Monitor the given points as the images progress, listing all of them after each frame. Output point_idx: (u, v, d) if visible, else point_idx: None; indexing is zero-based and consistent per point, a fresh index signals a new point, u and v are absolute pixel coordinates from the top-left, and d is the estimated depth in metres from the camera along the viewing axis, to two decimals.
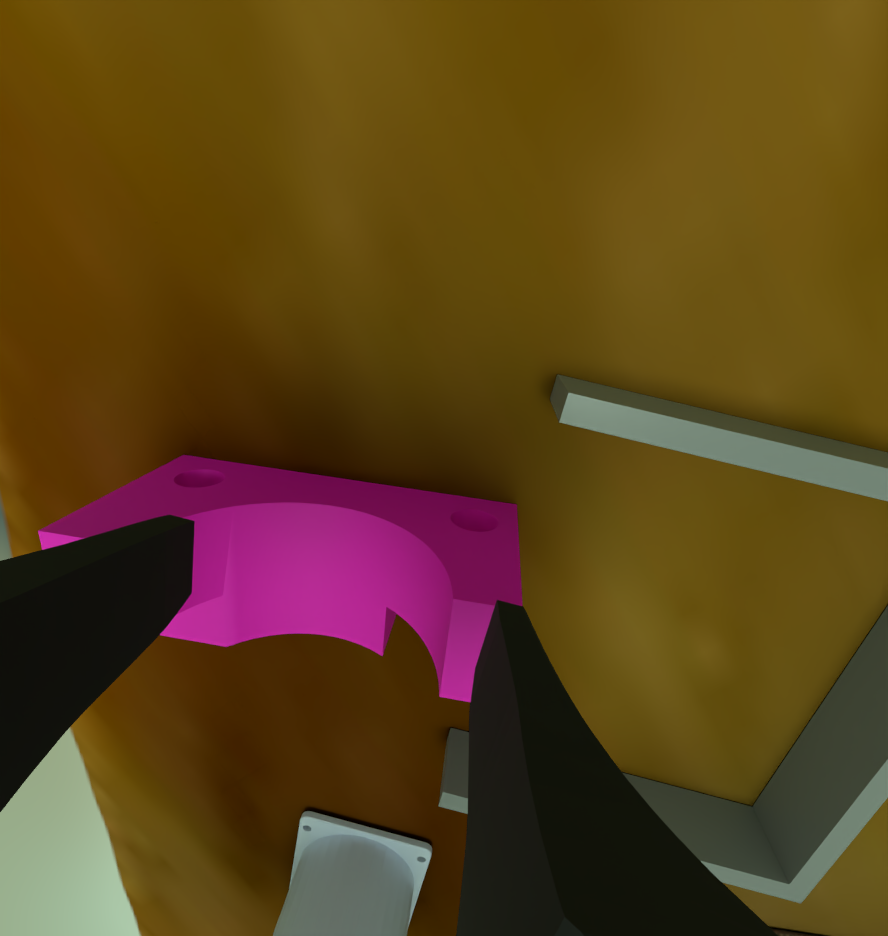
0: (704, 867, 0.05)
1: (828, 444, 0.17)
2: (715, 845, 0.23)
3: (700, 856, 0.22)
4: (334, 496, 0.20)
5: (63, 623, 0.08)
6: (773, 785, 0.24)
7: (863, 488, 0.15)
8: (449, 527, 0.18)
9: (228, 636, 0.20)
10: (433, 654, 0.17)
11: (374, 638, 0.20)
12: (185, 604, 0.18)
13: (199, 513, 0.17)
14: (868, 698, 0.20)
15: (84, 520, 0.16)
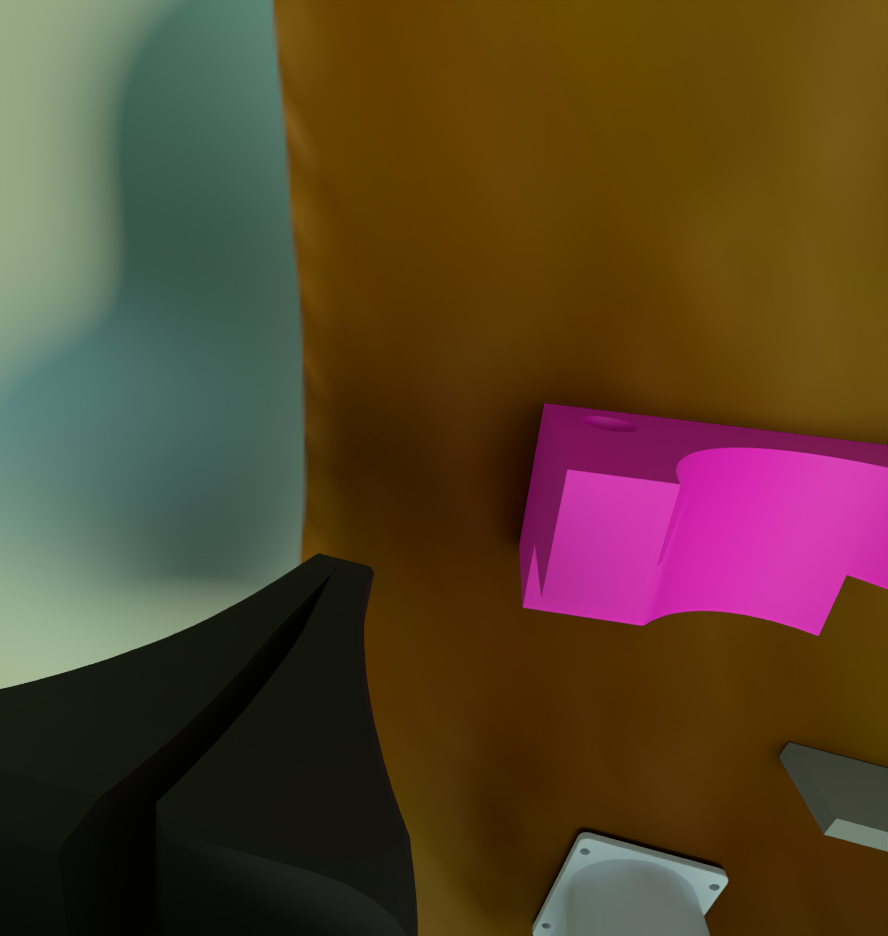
0: (388, 781, 0.05)
1: None
2: None
3: None
4: (776, 443, 0.16)
5: (267, 678, 0.08)
6: None
7: None
8: None
9: (647, 613, 0.16)
10: None
11: (809, 615, 0.17)
12: None
13: (686, 456, 0.14)
14: None
15: (590, 460, 0.13)
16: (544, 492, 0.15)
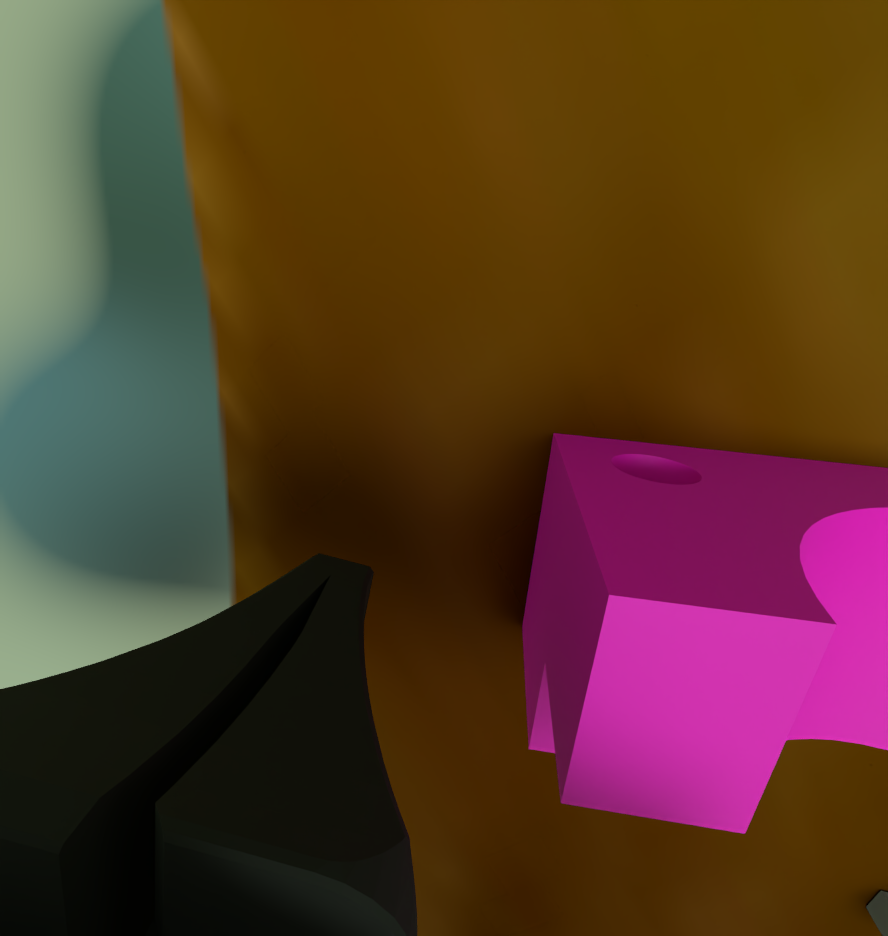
0: (388, 781, 0.05)
1: None
2: None
3: None
4: None
5: (268, 678, 0.08)
6: None
7: None
8: None
9: None
10: None
11: None
12: None
13: (803, 535, 0.08)
14: None
15: (646, 561, 0.07)
16: (559, 586, 0.09)
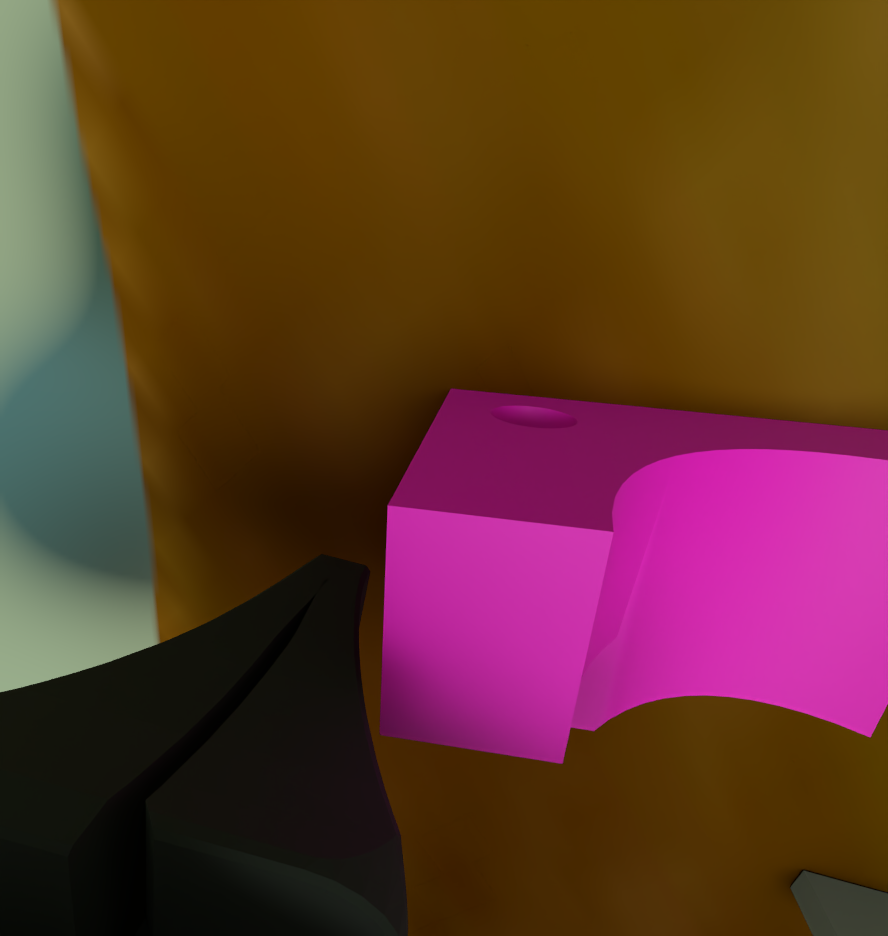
0: (381, 779, 0.05)
1: None
2: None
3: None
4: (798, 440, 0.10)
5: None
6: None
7: None
8: None
9: (600, 711, 0.10)
10: None
11: (855, 705, 0.11)
12: (586, 661, 0.09)
13: (643, 467, 0.08)
14: None
15: (453, 482, 0.07)
16: None
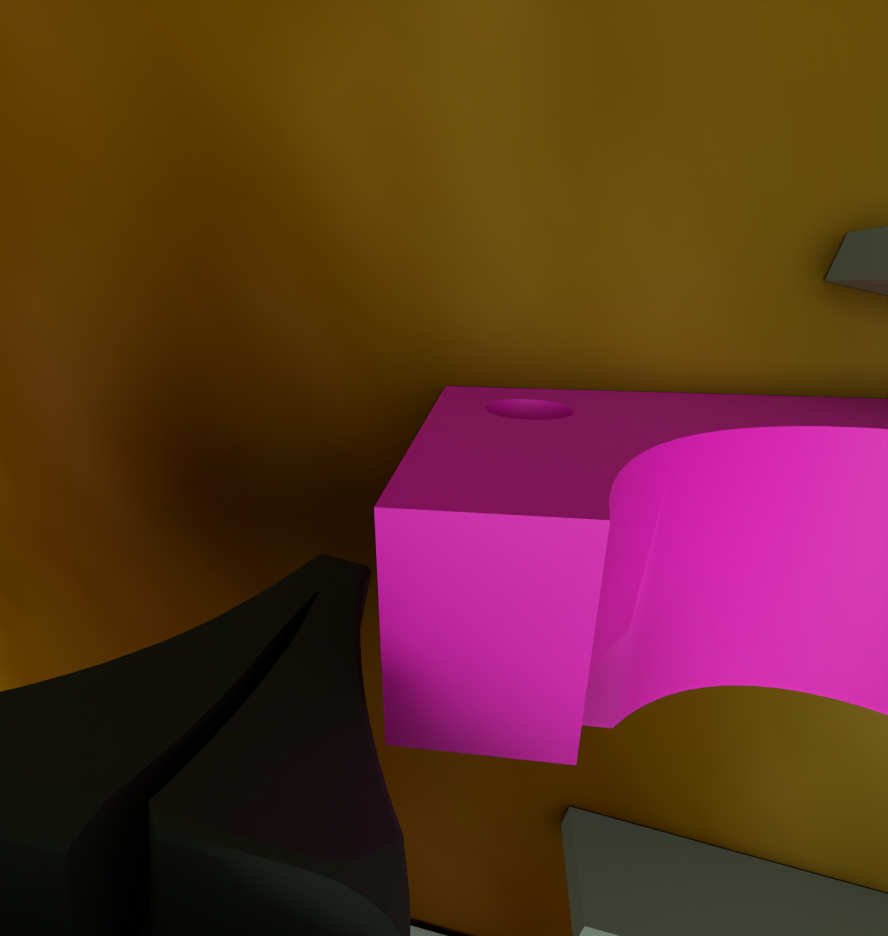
0: (383, 780, 0.05)
1: None
2: None
3: None
4: (804, 415, 0.10)
5: None
6: None
7: None
8: None
9: (617, 708, 0.10)
10: None
11: (884, 687, 0.10)
12: (597, 657, 0.08)
13: (643, 452, 0.08)
14: None
15: (443, 480, 0.06)
16: None
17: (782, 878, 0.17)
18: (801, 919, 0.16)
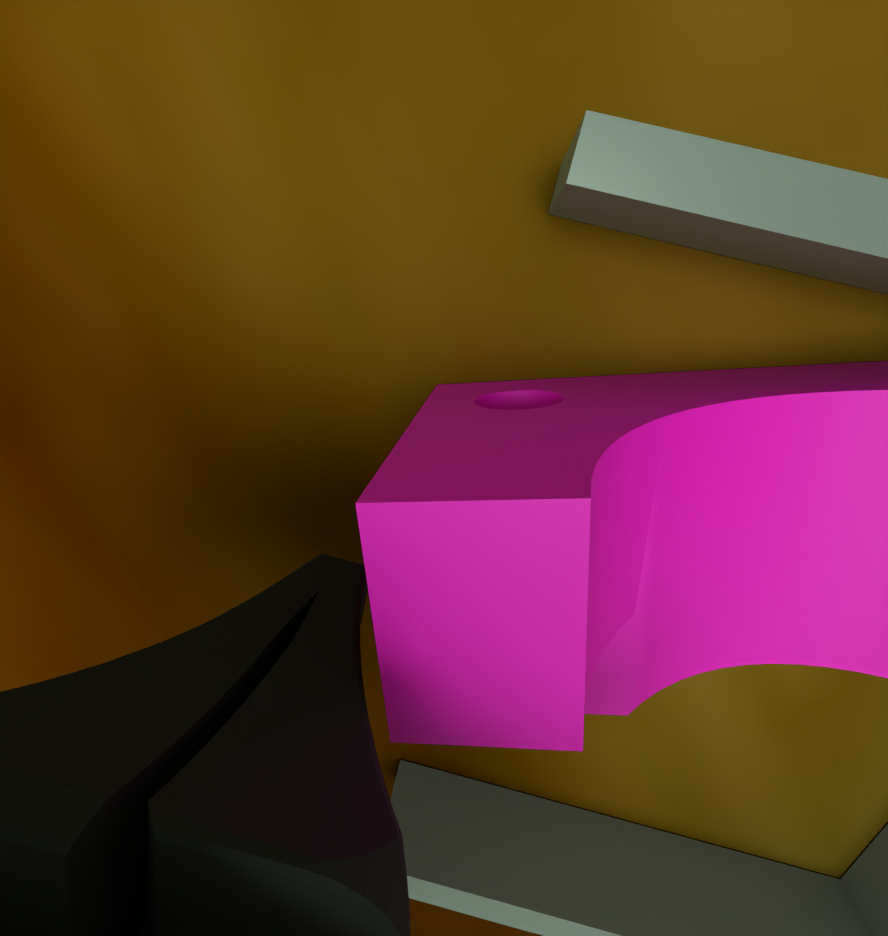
0: (382, 780, 0.05)
1: None
2: None
3: None
4: (799, 383, 0.10)
5: None
6: (877, 852, 0.16)
7: None
8: None
9: (631, 694, 0.10)
10: None
11: None
12: (602, 642, 0.08)
13: (630, 432, 0.08)
14: None
15: (426, 472, 0.07)
16: None
17: (604, 828, 0.17)
18: (611, 865, 0.16)
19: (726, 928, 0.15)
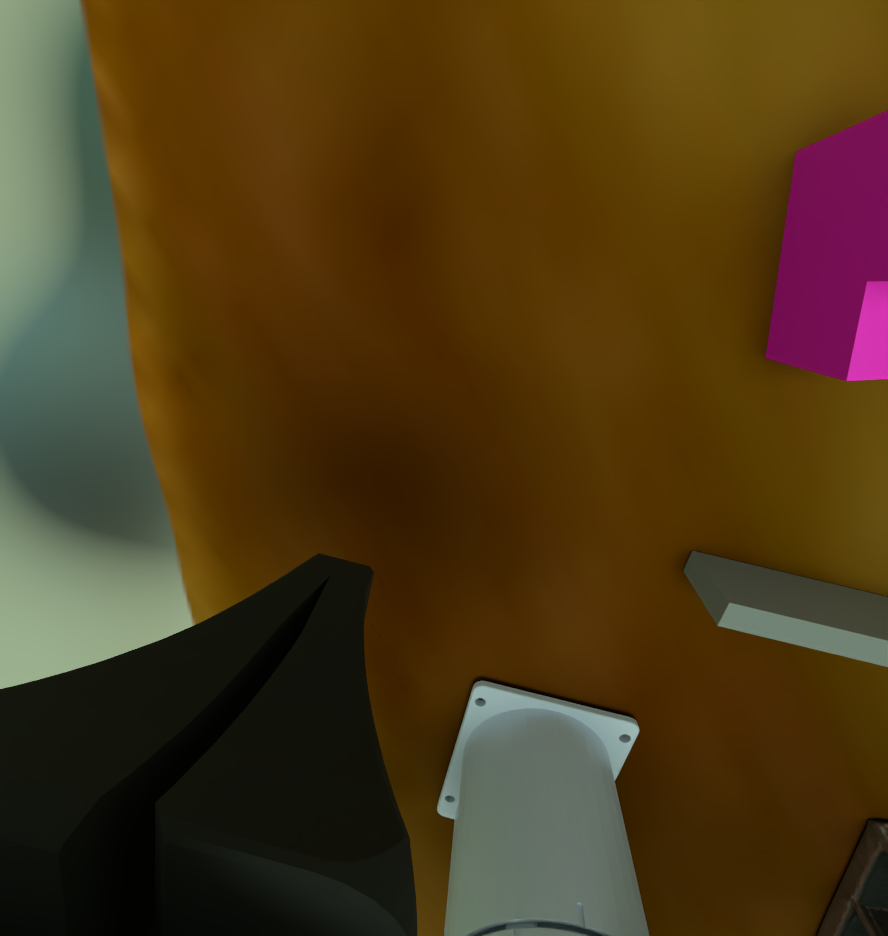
0: (389, 782, 0.05)
1: None
2: None
3: None
4: None
5: (268, 678, 0.08)
6: None
7: None
8: None
9: None
10: None
11: None
12: None
13: None
14: None
15: None
16: (885, 196, 0.11)
17: (883, 600, 0.19)
18: None
19: None
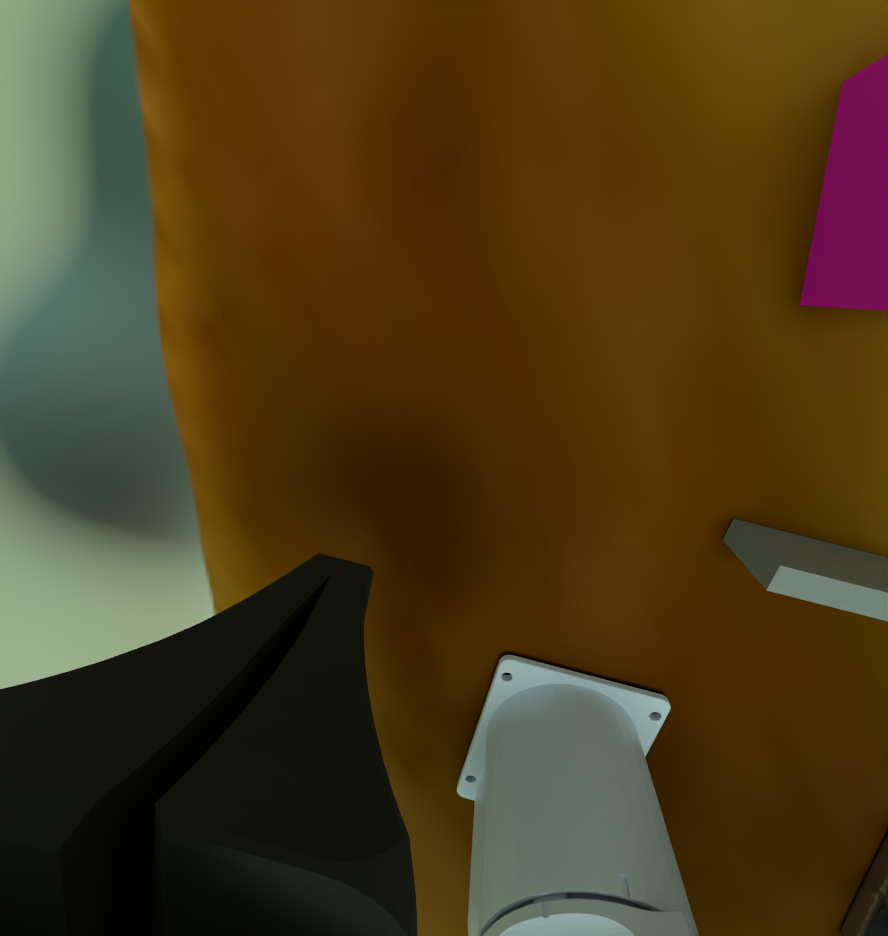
0: (388, 781, 0.05)
1: None
2: None
3: None
4: None
5: (268, 678, 0.08)
6: None
7: None
8: None
9: None
10: None
11: None
12: None
13: None
14: None
15: None
16: None
17: None
18: None
19: None
